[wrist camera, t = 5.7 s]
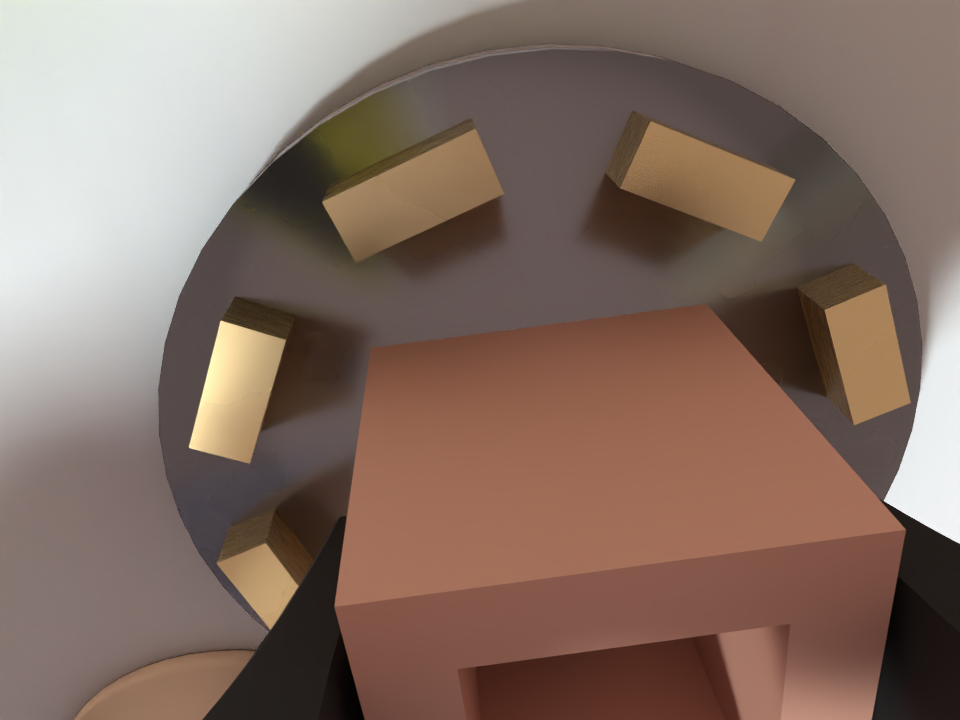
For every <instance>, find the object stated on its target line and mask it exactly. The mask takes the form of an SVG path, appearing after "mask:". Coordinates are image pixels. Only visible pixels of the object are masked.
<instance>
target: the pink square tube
mask: <svg viewBox="0 0 960 720" xmlns="http://www.w3.org/2000/svg"><path fill="white" fill-rule="evenodd" d="M905 532H906V529H905V528H904V527H903V526H902V525H901V523H900V522H899V521H898V520H897V519H896V518H895V517H894V516H893V514H892V513H891V512H890V511H889V510H888V509H887V508H886V507H885V505H884V504H883V503H882V502H881V501H880V500H879V499H878V497H877V496H876V495H875V494H874V493H873V492H872V491H871V490H870V488H869V487H868V486H867V485H866V484H865V483H864V482H863V481H862V479H861V478H860V477H859V476H858V475H857V474H856V473H855V471H854V470H853V469H852V468H851V467H850V466H849V465H848V464H847V462H846V461H845V460H844V459H843V458H842V457H841V456H840V454H839V453H838V452H837V451H836V450H835V449H834V448H833V447H832V445H831V444H830V443H829V442H828V441H827V440H826V439H825V438H824V436H823V435H822V434H821V433H820V432H819V431H818V430H817V428H816V427H815V426H814V425H813V424H812V423H811V422H810V421H809V419H808V418H807V417H806V416H805V415H804V414H803V413H802V411H801V410H800V409H799V408H798V407H797V406H796V405H795V404H794V402H793V401H792V400H791V399H790V398H789V397H788V396H787V395H786V393H785V392H784V391H783V390H782V389H781V388H780V387H779V385H778V384H777V383H776V382H775V381H774V380H773V379H772V378H771V376H770V375H769V374H768V373H767V372H766V371H765V370H764V369H763V367H762V366H761V365H760V364H759V363H758V362H757V361H756V359H755V358H754V357H753V356H752V355H751V354H750V353H749V352H748V350H747V349H746V348H745V347H744V346H743V345H742V344H741V342H740V341H739V340H738V339H737V338H736V337H735V336H734V335H733V333H732V332H731V331H730V330H729V329H728V328H727V327H726V326H725V324H724V323H723V322H722V321H721V320H720V319H719V318H718V316H717V315H716V314H715V313H714V312H713V311H712V310H711V309H710V307H709V306H708V305H707V304H702V305H694V306H687V307H679V308H671V309H664V310H656V311H649V312H641V313H633V314H626V315H618V316H611V317H603V318H595V319H588V320H580V321H573V322H565V323H557V324H550V325H542V326H535V327H527V328H519V329H512V330H504V331H497V332H489V333H481V334H474V335H466V336H459V337H451V338H443V339H436V340H428V341H421V342H413V343H405V344H398V345H390V346H383V347H375V348H371V349H370V356H369V363H368V370H367V378H366V385H365V392H364V399H363V406H362V413H361V420H360V428H359V435H358V442H357V449H356V456H355V463H354V470H353V477H352V485H351V492H350V499H349V506H348V513H347V520H346V527H345V535H344V542H343V549H342V556H341V563H340V570H339V577H338V584H337V592H336V599H335V606H334V607H335V611H336V615H337V619H338V622H339V626H340V630H341V634H342V637H343V641H344V645H345V648H346V652H347V656H348V660H349V663H350V667H351V671H352V674H353V678H354V682H355V686H356V689H357V693H358V697H359V700H360V704H361V708H362V712H363V715H364V719H365V720H872V715H873V710H874V704H875V699H876V693H877V688H878V682H879V676H880V671H881V665H882V660H883V654H884V649H885V643H886V638H887V632H888V626H889V621H890V615H891V610H892V604H893V599H894V593H895V588H896V582H897V577H898V571H899V565H900V560H901V554H902V549H903V543H904V538H905Z"/></svg>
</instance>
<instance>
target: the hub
mask: <svg viewBox="0 0 960 720" xmlns="http://www.w3.org/2000/svg"><path fill="white" fill-rule="evenodd" d="M702 304H707V305H708V306H709V307H710V309H711V310H712V311H713V312H714V313H715V314H716V315H717V316H718V318H719V319H720V320H721V321H722V322H723V323H724V324H725V326H726V327H727V328H728V329H729V330H730V331H731V332H732V333H733V335H734V336H735V337H736V338H737V339H738V340H739V341H740V342H741V344H742V345H743V346H744V347H745V348H746V349H747V350H748V352H749V353H750V354H751V355H752V356H753V357H754V358H755V359H756V361H757V362H758V363H759V364H760V365H761V366H762V367H763V369H764V370H765V371H766V372H767V373H768V374H769V375H770V376H771V378H772V379H773V380H774V381H775V382H776V383H777V384H778V385H779V387H780V388H781V389H782V390H783V391H784V392H785V393H786V395H787V396H788V397H789V398H790V399H791V400H792V401H793V402H794V404H795V405H796V406H797V407H798V408H799V409H800V410H801V411H802V413H803V414H804V415H805V416H806V417H807V418H808V419H809V421H810V422H811V423H812V424H813V425H814V426H815V427H816V428H817V430H818V431H819V432H820V433H821V434H822V435H823V436H824V438H825V439H826V440H827V441H828V442H829V443H830V444H831V445H832V447H833V448H834V449H835V450H836V451H837V452H838V453H839V454H840V456H841V457H842V458H843V459H844V460H845V461H846V462H847V464H848V465H849V466H850V467H851V468H852V469H853V470H854V471H855V473H856V474H857V475H858V476H859V477H860V478H861V479H862V481H863V482H864V483H865V484H866V485H867V486H868V487H869V488H870V490H871V491H872V492H873V493H874V494H875V495H876V496H877V497H878V498H879V499H881V500H882V501H884V499H885V497H886V495H887V493H888V491H889V488H890V486H891V484H892V482H893V480H894V478H895V476H896V474H897V472H898V470H899V467H900V464H901V461H902V458H903V455H904V452H905V449H906V447H907V444H908V441H909V438H910V435H911V432H912V428H913V423H914V417H915V412H916V407H917V402H918V396H919V391H920V379H921V356H922V341H921V332H920V323H919V314H918V305H917V299H916V295H915V292H914V288H913V285H912V281H911V277H910V274H909V270H908V266H907V263H906V259H905V256H904V254H903V252H902V250H901V248H900V246H899V244H898V241H897V239H896V237H895V235H894V233H893V231H892V228H891V226H890V224H889V222H888V220H887V218H886V216H885V214H884V212H883V211H882V210H881V208H880V207H879V205H878V204H877V202H876V201H875V199H874V198H873V196H872V195H871V194H870V192H869V191H868V189H867V188H866V186H865V185H864V183H863V182H862V180H861V179H860V177H859V176H858V175H857V174H856V173H855V172H854V171H853V169H852V168H851V167H850V166H849V165H848V164H847V163H846V162H845V161H844V160H843V159H842V158H841V157H840V156H839V155H838V154H837V153H836V152H835V151H834V150H833V149H832V148H831V147H830V146H829V145H828V144H827V143H826V142H825V140H824V139H823V138H821V137H820V136H819V135H817V134H816V133H815V132H813V131H812V130H811V129H809V128H808V127H807V126H805V125H804V124H803V123H801V122H800V121H799V120H797V119H796V118H794V117H793V116H792V115H790V114H789V113H788V112H786V111H785V110H784V109H782V108H781V107H780V106H778V105H776V104H774V103H772V102H770V101H768V100H766V99H764V98H763V97H761V96H759V95H757V94H755V93H753V92H751V91H749V90H747V89H745V88H743V87H741V86H740V85H738V84H736V83H734V82H732V81H730V80H727V79H724V78H721V77H718V76H715V75H712V74H709V73H706V72H703V71H701V70H698V69H695V68H692V67H689V66H686V65H683V64H680V63H677V62H674V61H671V60H668V59H664V58H661V57H658V56H654V55H648V54H643V53H637V52H632V51H626V50H621V49H615V48H610V47H604V46H588V45H558V44H539V45H530V46H521V47H512V48H502V49H493V50H485V51H481V52H477V53H473V54H469V55H465V56H461V57H457V58H454V59H450V60H446V61H442V62H438V63H434V64H430V65H427V66H425V67H422V68H420V69H417V70H415V71H412V72H410V73H408V74H405V75H403V76H400V77H398V78H395V79H393V80H391V81H388V82H386V83H383V84H381V85H378V86H376V87H374V88H372V89H371V90H369V91H367V92H365V93H364V94H362V95H360V96H359V97H357V98H355V99H354V100H352V101H350V102H348V103H347V104H345V105H343V106H342V107H340V108H338V109H336V110H335V111H333V112H331V113H330V114H328V115H326V116H325V117H324V118H322V119H321V120H320V121H319V122H317V123H316V124H315V125H314V126H312V127H311V128H310V129H309V130H307V131H306V132H305V133H304V134H302V135H301V136H300V137H299V138H297V139H296V140H295V141H293V142H292V143H291V144H290V145H288V146H287V147H286V148H285V149H283V150H282V151H281V152H280V154H279V155H278V156H277V157H276V158H275V159H274V160H273V161H272V162H271V163H270V164H269V165H268V166H267V167H266V168H265V170H264V171H263V172H262V173H261V174H260V175H259V176H258V177H257V178H256V179H255V180H254V181H253V182H252V183H251V184H250V185H249V187H248V188H247V189H246V190H245V191H244V192H243V193H242V195H241V196H240V197H239V198H238V199H237V200H236V202H235V203H234V204H233V205H232V207H231V208H230V210H229V211H228V213H227V214H226V215H225V217H224V218H223V220H222V221H221V223H220V224H219V226H218V227H217V228H216V230H215V231H214V233H213V234H212V236H211V237H210V239H209V240H208V241H207V243H206V244H205V246H204V247H203V249H202V250H201V252H200V254H199V257H198V259H197V261H196V263H195V265H194V267H193V269H192V271H191V273H190V275H189V277H188V279H187V281H186V283H185V285H184V287H183V289H182V291H181V294H180V296H179V299H178V302H177V305H176V308H175V312H174V315H173V318H172V322H171V325H170V328H169V331H168V335H167V338H166V341H165V346H164V353H163V360H162V368H161V375H160V382H159V389H158V393H159V436H160V441H161V447H162V452H163V458H164V463H165V469H166V474H167V479H168V482H169V485H170V488H171V490H172V493H173V496H174V499H175V502H176V505H177V508H178V511H179V514H180V517H181V519H182V521H183V523H184V525H185V526H186V528H187V530H188V532H189V534H190V536H191V538H192V540H193V542H194V544H195V546H196V548H197V550H198V551H199V553H200V555H201V556H202V558H203V559H204V561H205V562H206V563H207V565H208V566H209V568H210V569H211V570H212V572H213V573H214V574H215V576H216V577H217V579H218V580H219V581H220V583H221V584H222V586H223V587H224V588H225V589H226V590H227V591H228V592H229V593H230V594H231V596H232V597H233V598H234V599H235V600H236V601H237V602H238V603H239V604H240V605H241V606H242V607H243V608H244V609H245V610H246V611H247V613H248V614H249V615H250V616H251V617H253V618H254V619H255V620H256V621H257V622H259V623H260V624H261V625H262V626H263V627H265V628H266V629H267V630H268V631H270V630H271V628H272V627H273V626H274V624H275V623H276V621H277V620H278V618H279V617H280V615H281V613H282V612H283V610H284V609H285V607H286V605H287V604H288V602H289V601H290V599H291V598H292V596H293V594H294V593H295V591H296V590H297V588H298V586H299V585H300V583H301V582H302V580H303V578H304V577H305V575H306V573H307V571H308V570H309V568H310V566H311V565H312V563H313V561H314V560H315V558H316V556H317V554H318V553H319V551H320V549H321V547H322V545H323V544H324V542H325V540H326V538H327V536H328V535H329V533H330V531H331V529H332V527H333V525H334V524H335V522H336V521H337V520H338V519H339V517H342V516H347V513H348V506H349V499H350V492H351V485H352V477H353V470H354V463H355V456H356V449H357V442H358V435H359V428H360V420H361V413H362V406H363V399H364V392H365V385H366V378H367V370H368V363H369V356H370V349H371V348H375V347H383V346H390V345H398V344H405V343H413V342H421V341H428V340H436V339H443V338H451V337H459V336H466V335H474V334H481V333H489V332H497V331H504V330H512V329H519V328H527V327H535V326H542V325H550V324H557V323H565V322H573V321H580V320H588V319H595V318H603V317H611V316H618V315H626V314H633V313H641V312H649V311H656V310H664V309H671V308H679V307H687V306H694V305H702Z"/></svg>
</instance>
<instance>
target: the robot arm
mask: <svg viewBox="0 0 960 720" xmlns="http://www.w3.org/2000/svg"><path fill="white" fill-rule="evenodd" d="M878 499H879V498H878ZM879 500H880V501H881V502H882V503H883V504H884V505H885V507H886V508H887V509H888V510H889V511H890V512H891V513H892V514H893V516H894V517H895V518H896V519H897V520H898V521H899V522H900V523H901V525H902V526H903V527H904V528H905V529H906V532H905V538H904V543H903V549H902V554H901V560H900V565H899V571H898V577H897V582H896V588H895V593H894V599H893V604H892V610H891V615H890V621H889V626H888V632H887V638H886V643H885V649H884V654H883V660H882V665H881V671H880V676H879V682H878V688H877V693H876V699H875V704H874V710H873V715H872V720H960V544H959V543H957V542H955V541H953V540H951V539H949V538H947V537H945V536H944V535H942V534H940V533H938V532H936V531H934V530H933V529H931V528H929V527H927V526H925V525H924V524H922V523H920V522H918V521H917V520H915V519H913V518H911V517H910V516H908V515H906V514H904V513H903V512H901V511H899V510H898V509H896V508H894V507H893V506H891V505H889V504H887V503H886V502H884V501H882V500H881V499H879ZM346 520H347V516H342V517H339V519H338V520H337V521H336V522H335V524H334V525H333V527H332V529H331V531H330V533H329V535H328V536H327V538H326V540H325V542H324V544H323V545H322V547H321V549H320V551H319V553H318V554H317V556H316V558H315V560H314V561H313V563H312V565H311V566H310V568H309V570H308V571H307V573H306V575H305V577H304V578H303V580H302V582H301V583H300V585H299V586H298V588H297V590H296V591H295V593H294V594H293V596H292V598H291V599H290V601H289V602H288V604H287V605H286V607H285V609H284V610H283V612H282V613H281V615H280V617H279V618H278V620H277V621H276V623H275V624H274V626H273V627H272V628H271V630H270V631H269V633H268V634H267V636H266V637H265V638H264V640H263V641H262V643H261V644H260V645H259V647H258V648H257V650H256V651H255V653H254V654H253V655H252V657H251V658H250V660H249V661H248V662H247V664H246V665H245V667H244V668H243V669H242V671H241V672H240V673H239V675H238V676H237V677H236V678H235V680H234V681H233V682H232V684H231V685H230V686H229V687H228V689H227V690H226V691H225V693H224V694H223V695H222V696H221V698H220V699H219V700H218V701H217V702H216V704H215V705H214V706H213V707H212V708H211V710H210V711H209V712H208V713H207V714H206V716H205V717H204V718H203V719H202V720H365V719H364V715H363V712H362V708H361V704H360V700H359V697H358V693H357V689H356V686H355V682H354V678H353V674H352V671H351V667H350V663H349V660H348V656H347V652H346V648H345V645H344V641H343V637H342V634H341V630H340V626H339V622H338V619H337V615H336V611H335V607H334V606H335V599H336V592H337V584H338V577H339V570H340V563H341V556H342V549H343V542H344V535H345V527H346Z"/></svg>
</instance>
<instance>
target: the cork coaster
mask: <svg viewBox="0 0 960 720" xmlns="http://www.w3.org/2000/svg"><path fill="white" fill-rule="evenodd" d="M254 653H255V651H246V650H233V651H212V652H204V653H195V654H188V655H184V656H180V657H175V658H171V659H166V660H163V661H160V662H157V663H154V664H151V665H148V666H145V667H142V668H140V669H138V670H136V671H134V672H131V673H129V674H127V675H125V676H123V677H121V678H119V679H118V680H116V681H115V682H113V683H111V684H110V685H108V686H107V687H105V688H104V689H102V690H101V691H100V692H99V693H98V694H96V695H95V696H94V697H93V698H92V699H91V700H90V701H88V702H87V703H86V705H85V706H84V707H83V708H82V709H81V711H80V712H79V713H78V714H77V715H76V717H75V718H74V720H202V719H203V718H204V717H205V716H206V714H207V713H208V712H209V711H210V710H211V708H212V707H213V706H214V705H215V704H216V702H217V701H218V700H219V699H220V698H221V696H222V695H223V694H224V693H225V691H226V690H227V689H228V687H229V686H230V685H231V684H232V682H233V681H234V680H235V678H236V677H237V676H238V675H239V673H240V672H241V671H242V669H243V668H244V667H245V665H246V664H247V662H248V661H249V660H250V658H251V657H252V655H253V654H254Z"/></svg>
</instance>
